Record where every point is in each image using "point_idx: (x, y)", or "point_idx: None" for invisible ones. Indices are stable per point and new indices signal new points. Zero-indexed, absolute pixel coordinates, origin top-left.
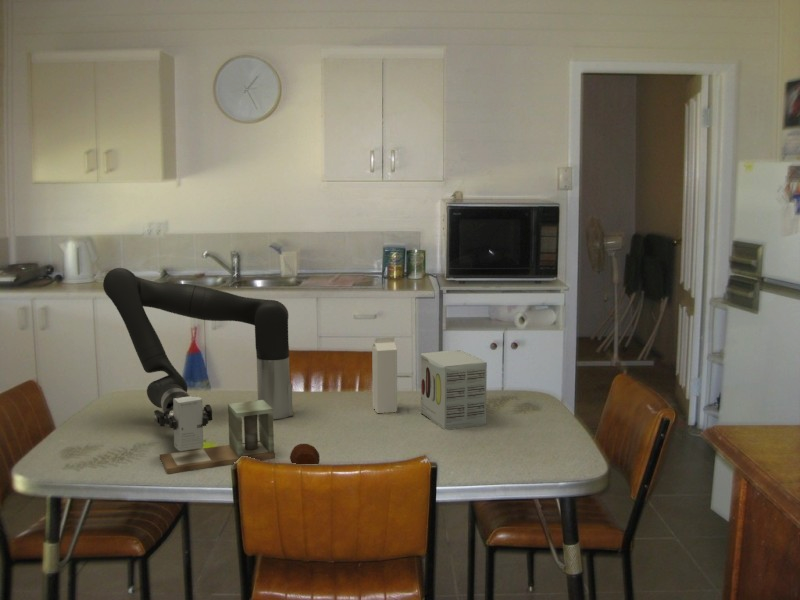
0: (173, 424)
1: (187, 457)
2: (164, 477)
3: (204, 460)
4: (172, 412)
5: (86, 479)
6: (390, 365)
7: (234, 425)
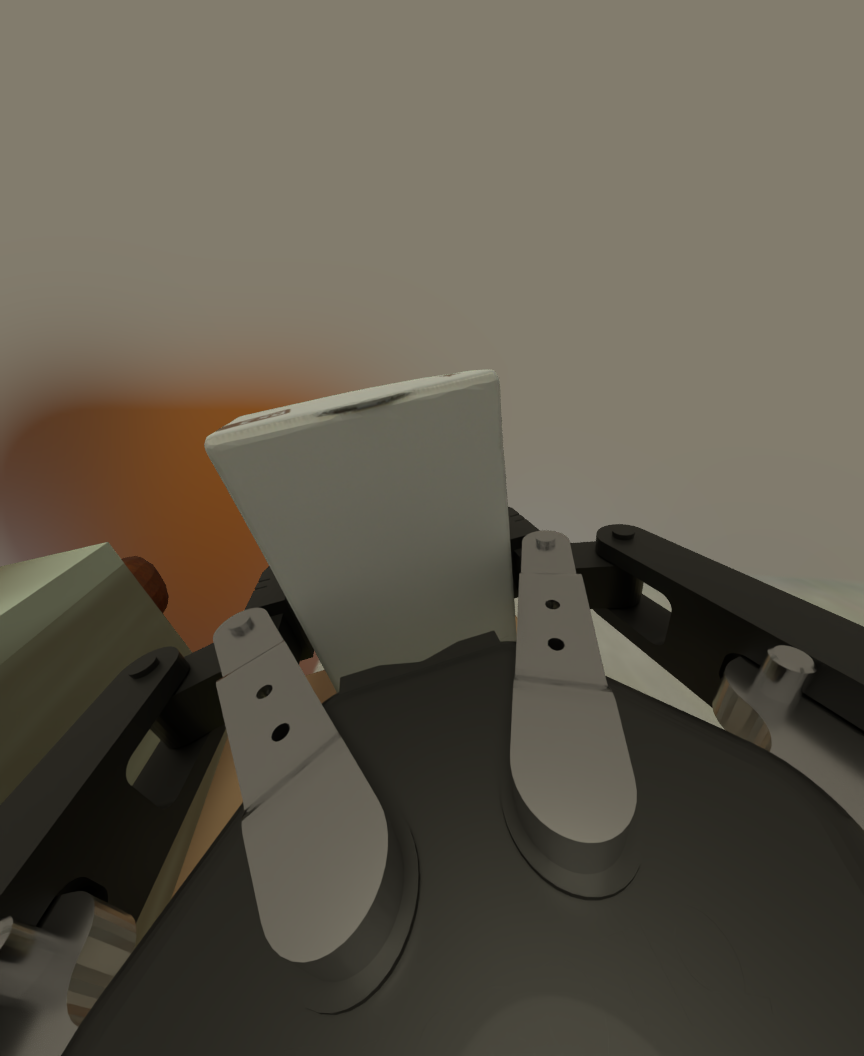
0: None
1: None
2: (514, 604)
3: None
4: (548, 575)
5: (810, 597)
6: None
7: (124, 662)
